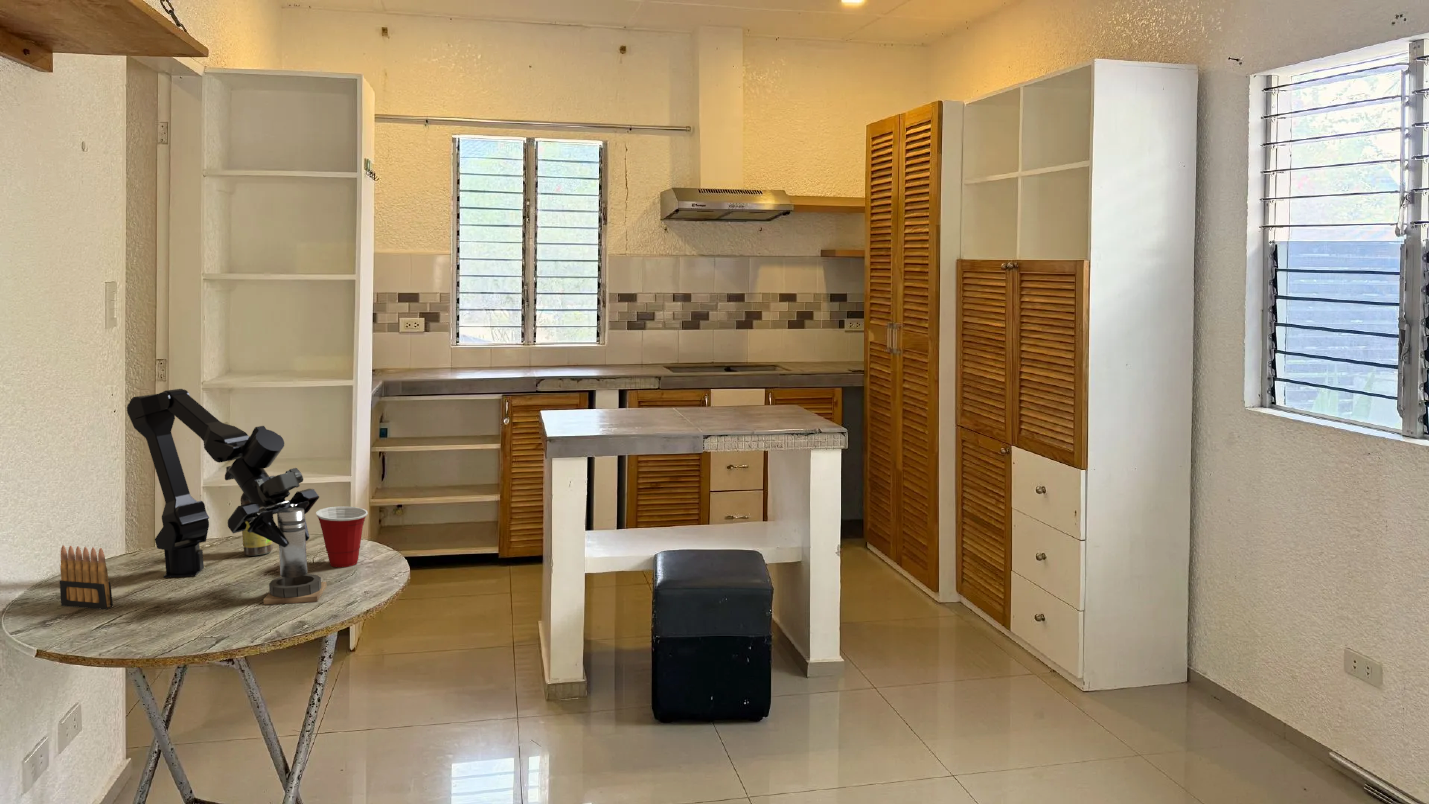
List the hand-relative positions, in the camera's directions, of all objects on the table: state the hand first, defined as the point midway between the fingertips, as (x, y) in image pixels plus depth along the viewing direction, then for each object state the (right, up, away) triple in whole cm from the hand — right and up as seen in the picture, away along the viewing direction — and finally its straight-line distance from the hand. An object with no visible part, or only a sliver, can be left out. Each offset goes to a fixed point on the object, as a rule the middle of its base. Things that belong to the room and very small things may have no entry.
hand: (297, 542), depth 219 cm
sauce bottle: (-21, -7, +33) cm, 40 cm away
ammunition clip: (-40, -12, -4) cm, 41 cm away
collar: (-1, -11, +2) cm, 11 cm away
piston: (-1, -6, +2) cm, 7 cm away
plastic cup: (+1, -8, +24) cm, 25 cm away
